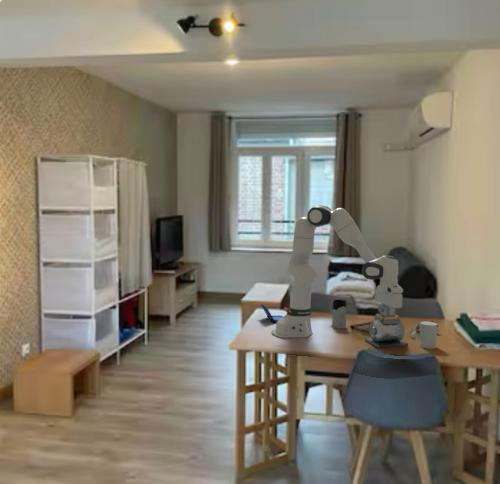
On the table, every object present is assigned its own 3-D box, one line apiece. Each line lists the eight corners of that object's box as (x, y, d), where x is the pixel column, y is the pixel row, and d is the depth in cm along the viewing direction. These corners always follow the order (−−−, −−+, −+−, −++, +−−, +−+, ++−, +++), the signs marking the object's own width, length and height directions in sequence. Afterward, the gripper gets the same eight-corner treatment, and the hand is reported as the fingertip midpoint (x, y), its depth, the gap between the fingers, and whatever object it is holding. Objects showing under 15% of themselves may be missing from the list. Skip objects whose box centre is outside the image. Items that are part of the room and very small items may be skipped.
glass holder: (336, 328, 313) (337, 303, 312) (323, 323, 326) (324, 298, 324) (349, 327, 317) (350, 302, 315) (335, 322, 329) (336, 297, 328)
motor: (378, 348, 276) (380, 319, 274) (364, 340, 289) (366, 312, 287) (408, 346, 281) (409, 317, 279) (393, 338, 294) (394, 311, 293)
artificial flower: (440, 336, 308) (444, 320, 304) (416, 347, 294) (420, 331, 290) (427, 328, 314) (431, 313, 310) (402, 339, 301) (406, 323, 297)
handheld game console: (288, 323, 325) (288, 308, 324) (266, 324, 322) (267, 308, 321) (281, 317, 340) (281, 302, 339) (260, 318, 337) (260, 303, 336)
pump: (381, 317, 280) (381, 308, 279) (376, 315, 284) (377, 306, 284) (394, 317, 282) (395, 307, 282) (390, 315, 287) (390, 305, 286)
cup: (438, 348, 277) (439, 325, 276) (422, 348, 277) (424, 325, 275) (432, 344, 285) (433, 321, 284) (416, 344, 285) (417, 321, 283)
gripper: (372, 283, 291) (371, 309, 292) (394, 290, 272) (392, 318, 273) (383, 283, 293) (382, 308, 294) (405, 290, 273) (403, 317, 275)
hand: (387, 313), depth 283 cm, fingers closed on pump, 4 cm apart
